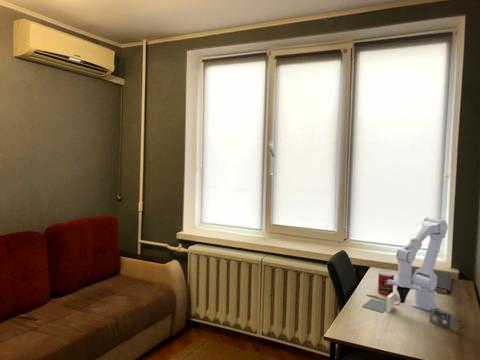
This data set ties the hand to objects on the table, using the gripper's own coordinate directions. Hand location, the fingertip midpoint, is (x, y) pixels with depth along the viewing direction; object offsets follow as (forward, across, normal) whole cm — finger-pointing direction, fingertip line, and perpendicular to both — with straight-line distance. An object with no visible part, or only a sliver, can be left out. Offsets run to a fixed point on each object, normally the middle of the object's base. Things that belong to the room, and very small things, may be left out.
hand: (402, 302), depth 176 cm
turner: (+5, -12, +10) cm, 16 cm away
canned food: (+5, -14, +21) cm, 26 cm away
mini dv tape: (+5, +16, -2) cm, 17 cm away
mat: (+5, -12, 0) cm, 13 cm away
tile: (+5, -6, 0) cm, 7 cm away
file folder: (+6, -2, +58) cm, 58 cm away
